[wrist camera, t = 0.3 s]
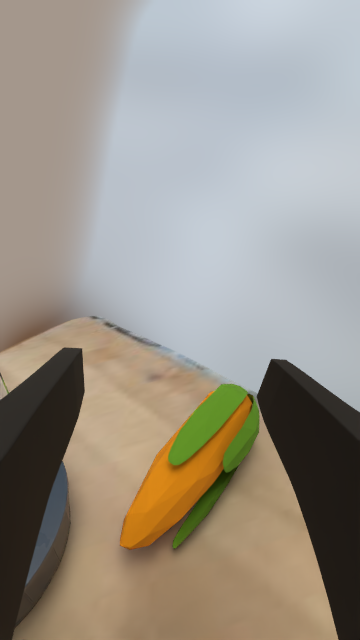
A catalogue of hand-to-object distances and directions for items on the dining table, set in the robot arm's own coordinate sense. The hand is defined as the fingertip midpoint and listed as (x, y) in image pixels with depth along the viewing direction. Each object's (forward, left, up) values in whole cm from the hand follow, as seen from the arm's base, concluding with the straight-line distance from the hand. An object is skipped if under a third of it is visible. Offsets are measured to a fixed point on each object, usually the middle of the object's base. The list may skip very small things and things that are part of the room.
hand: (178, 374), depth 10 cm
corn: (+7, -4, -21) cm, 23 cm away
